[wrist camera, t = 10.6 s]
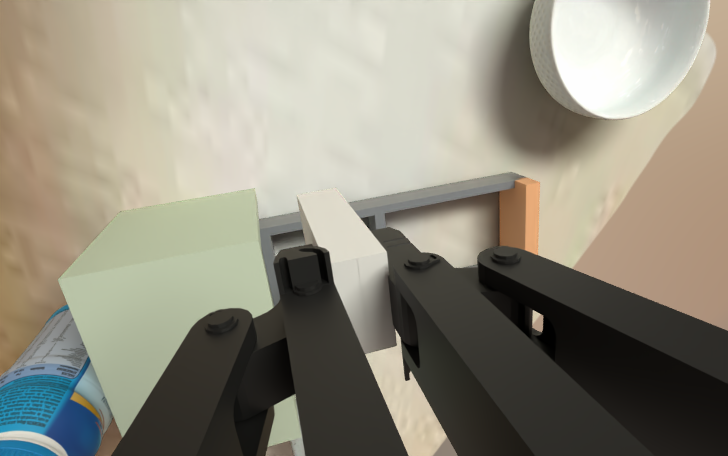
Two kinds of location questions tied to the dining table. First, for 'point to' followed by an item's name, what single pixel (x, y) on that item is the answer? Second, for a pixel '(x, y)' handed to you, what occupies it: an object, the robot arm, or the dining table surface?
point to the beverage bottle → (53, 396)
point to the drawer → (513, 199)
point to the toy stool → (167, 292)
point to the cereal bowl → (615, 52)
